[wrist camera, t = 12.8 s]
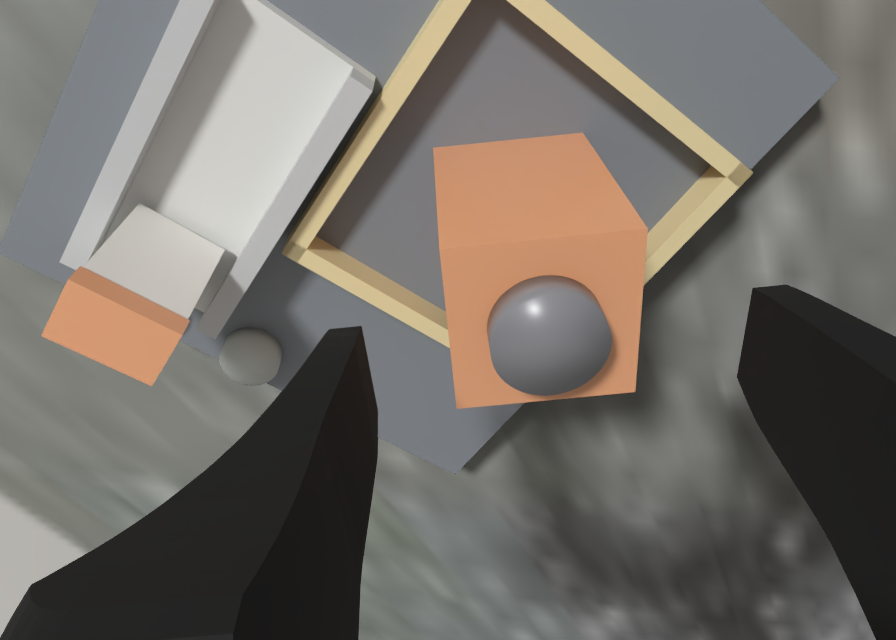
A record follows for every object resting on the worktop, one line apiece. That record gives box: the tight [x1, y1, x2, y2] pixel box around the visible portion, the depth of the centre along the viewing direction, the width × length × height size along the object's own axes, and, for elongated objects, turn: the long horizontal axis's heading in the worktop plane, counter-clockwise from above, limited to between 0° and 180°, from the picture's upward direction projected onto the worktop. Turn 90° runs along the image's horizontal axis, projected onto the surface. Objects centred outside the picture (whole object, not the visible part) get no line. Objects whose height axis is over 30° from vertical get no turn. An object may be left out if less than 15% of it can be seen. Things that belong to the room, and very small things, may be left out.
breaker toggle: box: [41, 203, 225, 386], centre depth 17 cm, size 2×2×4 cm
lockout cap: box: [433, 133, 648, 409], centre depth 16 cm, size 4×4×7 cm
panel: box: [0, 0, 840, 474], centre depth 18 cm, size 16×17×3 cm
